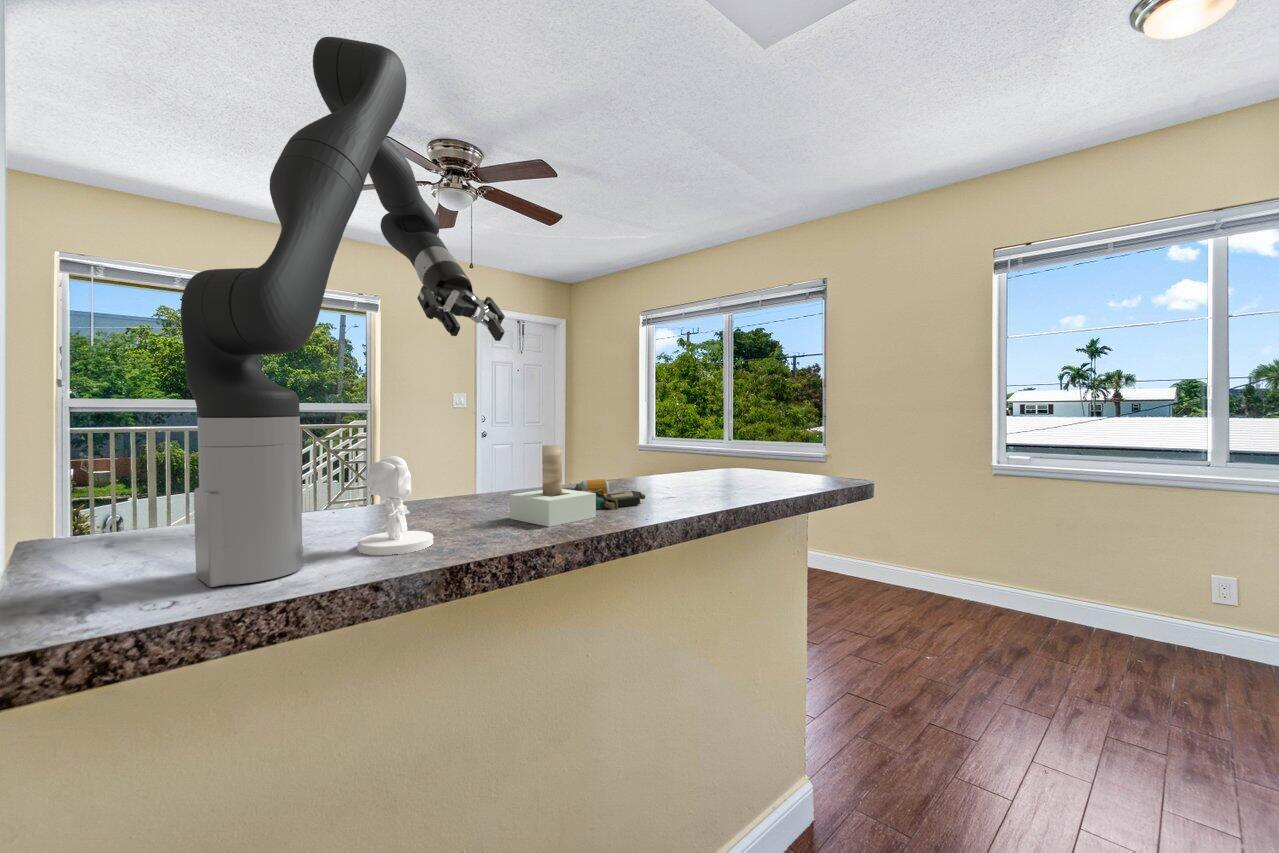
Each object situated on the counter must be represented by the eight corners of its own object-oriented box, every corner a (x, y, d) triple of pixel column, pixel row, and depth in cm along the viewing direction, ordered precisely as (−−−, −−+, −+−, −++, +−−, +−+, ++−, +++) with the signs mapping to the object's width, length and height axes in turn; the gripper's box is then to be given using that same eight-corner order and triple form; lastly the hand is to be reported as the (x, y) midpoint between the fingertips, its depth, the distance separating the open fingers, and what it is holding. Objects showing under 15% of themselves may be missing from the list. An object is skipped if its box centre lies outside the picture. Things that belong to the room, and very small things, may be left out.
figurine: (406, 557, 69) (404, 459, 68) (341, 553, 71) (339, 458, 70) (446, 540, 78) (445, 453, 77) (387, 537, 80) (386, 452, 79)
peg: (551, 520, 91) (550, 446, 91) (538, 518, 93) (538, 445, 93) (566, 517, 93) (565, 445, 93) (553, 515, 96) (553, 444, 95)
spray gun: (653, 509, 107) (588, 522, 97) (601, 494, 120) (539, 504, 110) (653, 487, 106) (588, 498, 97) (601, 474, 119) (539, 483, 110)
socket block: (549, 526, 86) (549, 500, 86) (509, 518, 93) (509, 494, 93) (595, 517, 94) (595, 493, 94) (556, 510, 100) (556, 487, 100)
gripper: (412, 251, 95) (449, 311, 88) (484, 267, 106) (523, 322, 99) (397, 287, 99) (432, 348, 92) (469, 299, 110) (505, 354, 102)
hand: (479, 334), depth 95 cm, fingers open, 8 cm apart
